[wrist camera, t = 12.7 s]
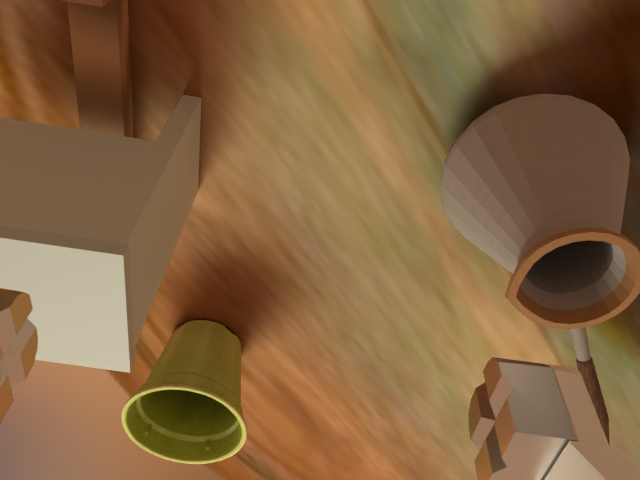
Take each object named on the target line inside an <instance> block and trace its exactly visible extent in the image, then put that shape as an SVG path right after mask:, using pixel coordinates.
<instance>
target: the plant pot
mask: <svg viewBox="0 0 640 480" xmlns="http://www.w3.org/2000/svg"><path fill="white" fill-rule="evenodd" d="M241 353H242V347H241V343H240V340H239V339H238V337H237V336H236V335H234V334H232V333H231V332H230V331H228V330H227V329H226V328H225V327H224V325H222V324H219V323H216V322H213V321H208V320H194V321H189V322H186V323H185V324H184V325H182V326H181V327H179V328H178V329H176V330H175V331H174V332H173V334H172V336H171V338H170V339H169V341H168V343H167V345H166V347H165V349H164V350H163V352H162V354H161V356H160V358H159V360H158V361H157V363H156V365H155V367H154V369H153V371H152V372H151V374H150V376H149V378H148V380H147V382H146V383H145V384H144V385H143V386H142V387H141V388H140V389H139V390H138V392H137V393H136V394H134V395H133V396H132V397H131V398H129V400H128V401H127V402H126V404H125V406H124V408H123V411H122V424H123V427H124V430H125V431H126V432H127V434H128V436H129V437H130V438H131V439H132V440H133V441H134V442H135V443H136V444H137V445H139V446H140V447H141V448H143V449H144V450H146V451H148V452H149V453H152V454H153V455H156V456H158V457H161V458H164V459H167V460H171V461H175V462H181V463H189V464H206V463H211V462H217V461H221V460H224V459H226V458H228V457H231V456H232V455H234V454H235V453H237V452H238V451H239V450H240V449H241V448H242V446H243V445H244V443H245V441H246V436H247V426H246V422H245V420H244V418H243V412H242V408H241V405H240V401H241Z"/></svg>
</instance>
